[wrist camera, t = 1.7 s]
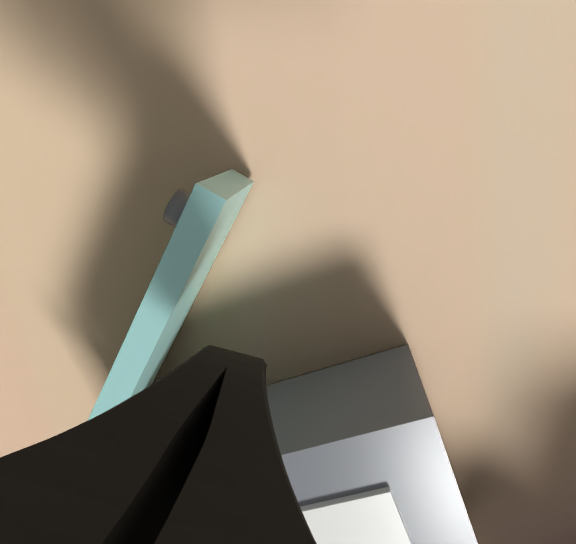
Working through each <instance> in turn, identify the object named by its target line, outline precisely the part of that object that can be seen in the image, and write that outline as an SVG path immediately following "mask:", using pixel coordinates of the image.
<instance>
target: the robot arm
mask: <svg viewBox="0 0 576 544" xmlns="http://www.w3.org/2000/svg"><path fill="white" fill-rule="evenodd" d="M266 366H267V365H266V363H265V361H264V360H263V359H261V358H257V357H253V356H249V355H245V354H241V353H238V352H234V351H230V350H226V349H222V348H219V347H215V346H211V345H209V346H207V347H205V348H203V349H202V350H200V351H199V352H198V353H196V354H195V355H194V356H192V357H191V358H190V359H188V360H187V361H185V362H184V363H183V364H181V365H180V366H178V367H177V368H176V369H174V370H173V371H171V372H170V373H168V374H167V375H165V376H164V377H162V378H161V379H159V380H158V381H156V382H154V383H153V384H151V385H150V386H148V387H147V388H145V389H144V390H142V391H140V392H139V393H137V394H135V395H133V396H132V397H130V398H128V399H127V400H125V401H123V402H121V403H120V404H118V405H116V406H114V407H113V408H111V409H109V410H107V411H105V412H104V413H102V414H100V415H98V416H96V417H94V418H92V419H90V420H88V421H86V422H84V423H82V424H80V425H78V426H76V427H74V428H72V429H69V430H67V431H65V432H63V433H61V434H59V435H56V436H54V437H52V438H49V439H47V440H45V441H42V442H39V443H37V444H34V445H32V446H29V447H26V448H24V449H21V450H19V451H16V452H13V453H11V454H8V455H6V456H3V457H1V458H0V544H317V543H316V541H315V539H314V537H313V535H312V533H311V531H310V528H309V526H308V524H307V522H306V519H305V517H304V515H303V513H302V510H301V508H300V506H299V503H298V501H297V498H296V496H295V493H294V491H293V488H292V486H291V483H290V480H289V477H288V475H287V472H286V469H285V466H284V463H283V460H282V456H281V453H280V450H279V446H278V443H277V439H276V435H275V431H274V427H273V423H272V418H271V413H270V409H269V403H268V397H267V388H266Z"/></svg>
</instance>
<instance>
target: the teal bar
mask: <svg viewBox="0 0 576 544" xmlns="http://www.w3.org/2000/svg"><path fill="white" fill-rule="evenodd" d="M253 183H254V181H252V180H251V179H249V178H247V177H245V176H244V175H242V174H240V173H238V172H236V171H235V170H233V169H231V170H228V171H225V172H223V173H220V174H218V175H215V176H213V177H210V178H208V179H205V180H203V181H200V182H198V183H196V184H195V186H194V188H193V190H192V192H191V194H189V193H187V192H185V191H184V190H182V189H179V190H178V191H177V192H176V193H175V194H174V195H173V197H172V198H171V200H170V202H169V203H168V205H167V208H166V210H165V213H164V216H163V220H164V221H165V222H167V223H169V224H171V225H173V226H174V227H176V228H175V230H174V232H173V234H172V236H171V239H170V241H169V243H168V245H167V247H166V250H165V252H164V254H163V256H162V258H161V261H160V263H159V265H158V267H157V269H156V272H155V274H154V276H153V278H152V280H151V283H150V285H149V287H148V289H147V292H146V294H145V296H144V298H143V300H142V303H141V305H140V307H139V309H138V311H137V314H136V316H135V318H134V320H133V322H132V325H131V327H130V329H129V331H128V333H127V336H126V338H125V340H124V342H123V344H122V347H121V349H120V351H119V353H118V355H117V358H116V360H115V362H114V364H113V366H112V369H111V371H110V373H109V375H108V377H107V380H106V382H105V384H104V386H103V388H102V391H101V393H100V395H99V397H98V399H97V402H96V404H95V406H94V408H93V410H92V413H91V415H90V417H89V419H88V420H90V419H92V418H94V417H96V416H98V415H100V414H102V413H104V412H105V411H107V410H109V409H111V408H113V407H114V406H116V405H118V404H120V403H121V402H123V401H125V400H127V399H128V398H130V397H132V396H133V395H135V394H137V393H139V392H140V391H142V390H144V389H145V388H147V387H148V386H150V385H151V384H153V382H154V380H155V378H156V376H157V374H158V372H159V370H160V368H161V366H162V364H163V362H164V360H165V358H166V356H167V354H168V352H169V350H170V348H171V346H172V344H173V342H174V340H175V338H176V336H177V334H178V332H179V330H180V328H181V326H182V324H183V322H184V320H185V318H186V316H187V314H188V312H189V310H190V308H191V306H192V304H193V302H194V300H195V298H196V296H197V294H198V292H199V290H200V288H201V286H202V284H203V282H204V280H205V278H206V276H207V274H208V272H209V270H210V268H211V266H212V264H213V262H214V260H215V258H216V256H217V254H218V252H219V250H220V248H221V246H222V244H223V242H224V240H225V238H226V236H227V234H228V232H229V231H230V229H231V227H232V225H233V223H234V221H235V219H236V217H237V215H238V213H239V211H240V209H241V207H242V205H243V203H244V201H245V199H246V197H247V195H248V193H249V191H250V189H251V187H252V185H253Z"/></svg>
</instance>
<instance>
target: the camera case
mask: <svg viewBox="0 0 576 544" xmlns="http://www.w3.org/2000/svg"><path fill="white" fill-rule="evenodd" d="M266 388H267V397H268V403H269V409H270V413H271V418H272V423H273V427H274V431H275V435H276V439H277V443H278V446H279V450H280V453H281V456H282V460H283V463H284V466H285V469H286V472H287V475H288V477H289V480H290V483H291V486H292V488H293V491H294V493H295V496H296V498H297V501H298V503H299V506H300V508H301V510H302V513H303V515H304V517H305V519H306V522H307V524H308V526H309V528H310V531H311V533H312V535H313V537H314V539H315V541H316V543H317V544H478V543H477V540H476V537H475V534H474V531H473V528H472V525H471V523H470V520H469V517H468V514H467V511H466V508H465V505H464V502H463V499H462V497H461V494H460V491H459V488H458V485H457V482H456V479H455V476H454V473H453V471H452V468H451V465H450V462H449V459H448V456H447V453H446V450H445V447H444V444H443V442H442V439H441V436H440V433H439V430H438V427H437V424H436V421H435V418H434V416H433V413H432V410H431V407H430V404H429V402H428V399H427V396H426V393H425V390H424V388H423V385H422V382H421V379H420V376H419V373H418V371H417V368H416V365H415V362H414V359H413V357H412V354H411V351H410V348H409V345H408V344H407V345H404V346H400V347H397V348H393V349H390V350H386V351H383V352H380V353H376V354H373V355H369V356H366V357H363V358H359V359H356V360H352V361H349V362H345V363H342V364H339V365H335V366H332V367H328V368H325V369H322V370H318V371H315V372H311V373H308V374H304V375H301V376H298V377H294V378H291V379H287V380H284V381H281V382H277V383H274V384H270V385H267V386H266Z"/></svg>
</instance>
